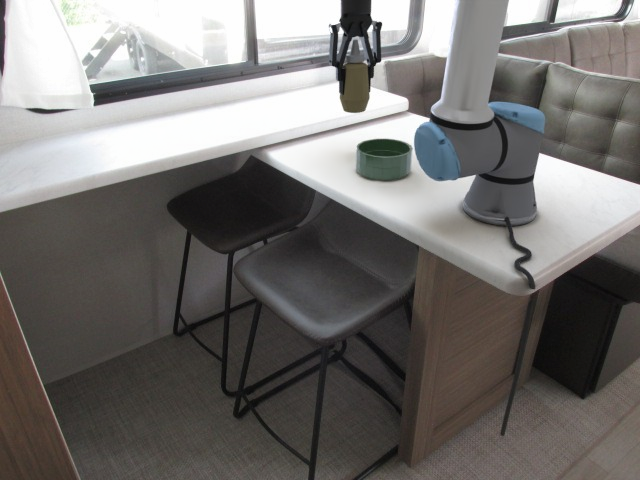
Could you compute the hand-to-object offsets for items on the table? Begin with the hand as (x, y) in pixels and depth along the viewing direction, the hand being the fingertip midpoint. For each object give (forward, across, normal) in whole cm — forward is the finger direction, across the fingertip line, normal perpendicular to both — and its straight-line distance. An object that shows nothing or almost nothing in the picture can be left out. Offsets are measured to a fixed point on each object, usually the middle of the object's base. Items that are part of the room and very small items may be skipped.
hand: (354, 92), depth 135 cm
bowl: (+18, -3, +13) cm, 22 cm away
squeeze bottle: (+5, 0, 0) cm, 5 cm away
